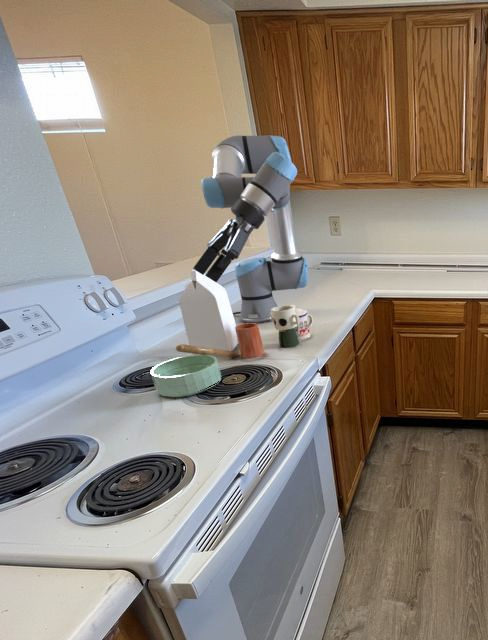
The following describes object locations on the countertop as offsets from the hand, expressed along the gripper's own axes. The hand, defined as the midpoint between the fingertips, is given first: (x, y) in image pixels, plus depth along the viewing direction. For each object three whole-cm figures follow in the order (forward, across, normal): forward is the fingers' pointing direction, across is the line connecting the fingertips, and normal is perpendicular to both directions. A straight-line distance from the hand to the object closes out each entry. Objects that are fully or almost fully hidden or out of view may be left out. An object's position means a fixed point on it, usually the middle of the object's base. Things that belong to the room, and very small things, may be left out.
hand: (203, 275), depth 104 cm
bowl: (+26, 0, -13) cm, 29 cm away
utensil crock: (+13, +10, -26) cm, 31 cm away
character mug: (+4, +11, -35) cm, 37 cm away
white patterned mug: (0, +19, -40) cm, 44 cm away
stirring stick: (+19, 0, -5) cm, 20 cm away
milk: (+18, +25, -22) cm, 38 cm away
